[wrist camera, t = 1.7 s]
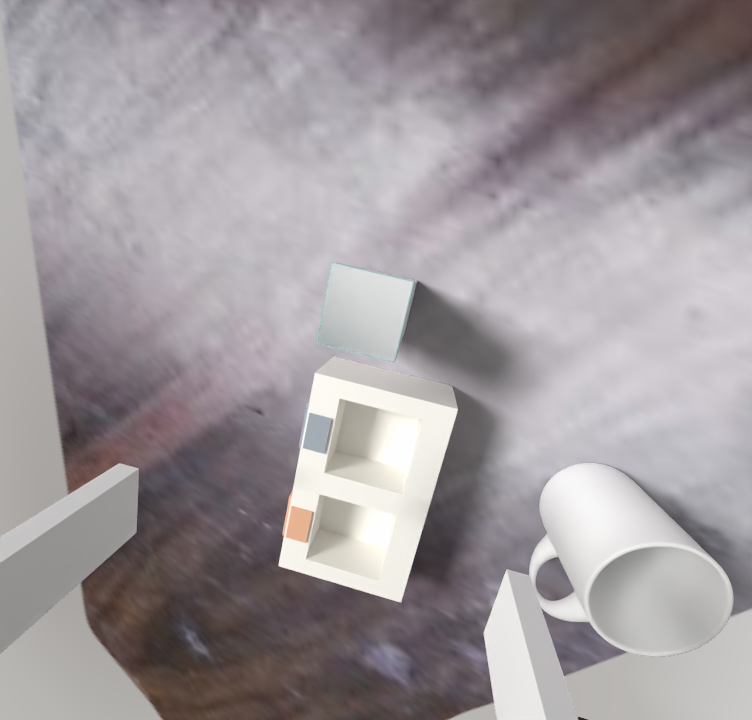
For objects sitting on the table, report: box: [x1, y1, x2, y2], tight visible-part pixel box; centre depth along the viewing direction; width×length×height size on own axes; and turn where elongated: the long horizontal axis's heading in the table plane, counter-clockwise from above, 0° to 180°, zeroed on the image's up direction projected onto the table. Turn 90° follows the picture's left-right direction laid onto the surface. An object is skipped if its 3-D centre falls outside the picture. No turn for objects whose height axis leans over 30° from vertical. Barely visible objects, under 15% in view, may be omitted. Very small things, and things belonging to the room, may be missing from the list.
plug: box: [317, 262, 417, 363], centre depth 26 cm, size 5×5×12 cm
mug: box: [529, 463, 734, 657], centre depth 29 cm, size 9×12×11 cm
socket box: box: [279, 357, 458, 602], centre depth 32 cm, size 18×11×6 cm, turn 167°
